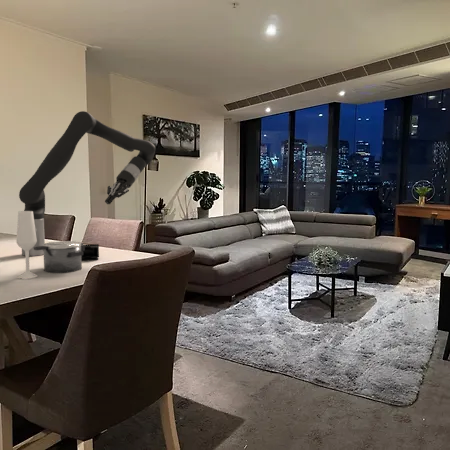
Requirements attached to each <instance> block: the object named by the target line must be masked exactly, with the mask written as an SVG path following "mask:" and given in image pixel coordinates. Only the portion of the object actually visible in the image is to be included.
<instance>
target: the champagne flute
mask: <svg viewBox="0 0 450 450" xmlns="http://www.w3.org/2000/svg"><path fill="white" fill-rule="evenodd" d="M16 227H17V229H16V239H15V240H16V241H15V242H16V244H17V245H18V247H19V248H21V250H22V249H23V250H25V255H24V256H25V271H24V272H23V273H22V274H20V275H19V276H17V278H18V279H20V278H22V279H23V280H26V279H34V278H37V277H39V276H38V274H37V273H36V274H35V273H34V272H32V271H30V256H29V250H30V249H32V248H33V247H34V246H35V244H36V242H37V238H36V231H35V224H34V216H33V211H24V210H22V211H21V210H19V211H18V212H17V226H16Z"/></svg>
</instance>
